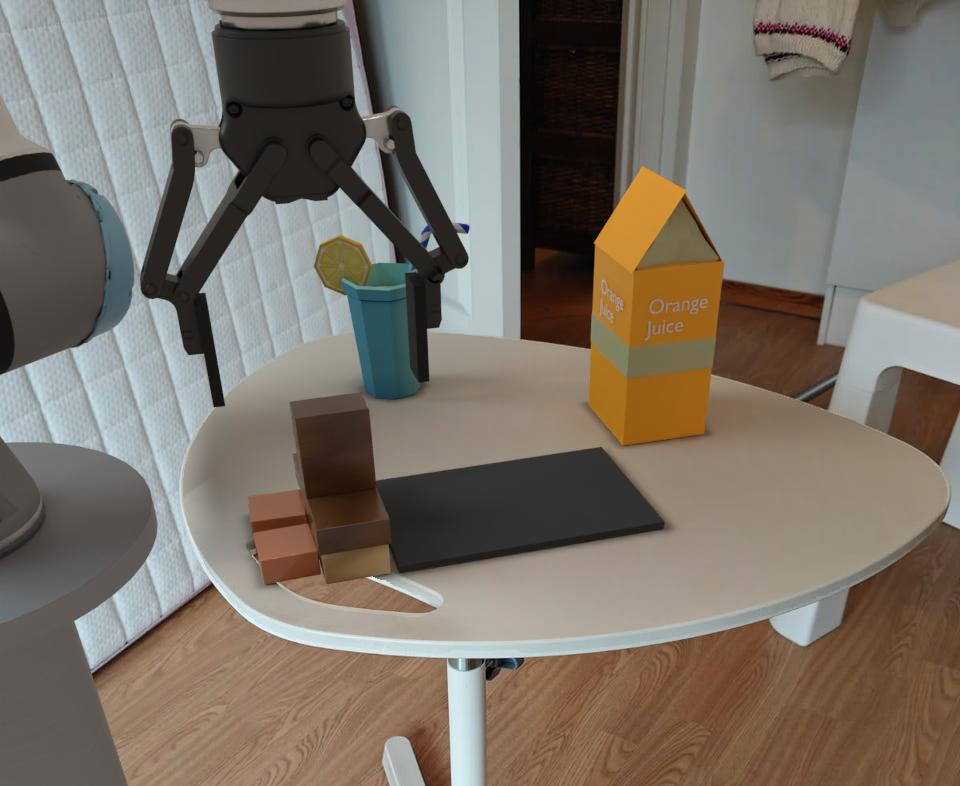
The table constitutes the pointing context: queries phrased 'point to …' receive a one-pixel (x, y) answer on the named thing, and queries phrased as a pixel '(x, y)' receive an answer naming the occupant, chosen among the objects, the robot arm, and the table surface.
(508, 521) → the mat
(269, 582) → the clay chunk
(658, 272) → the orange juice
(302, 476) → the three-tone stepped block
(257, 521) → the clay chunk
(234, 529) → the table surface
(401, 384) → the cup
